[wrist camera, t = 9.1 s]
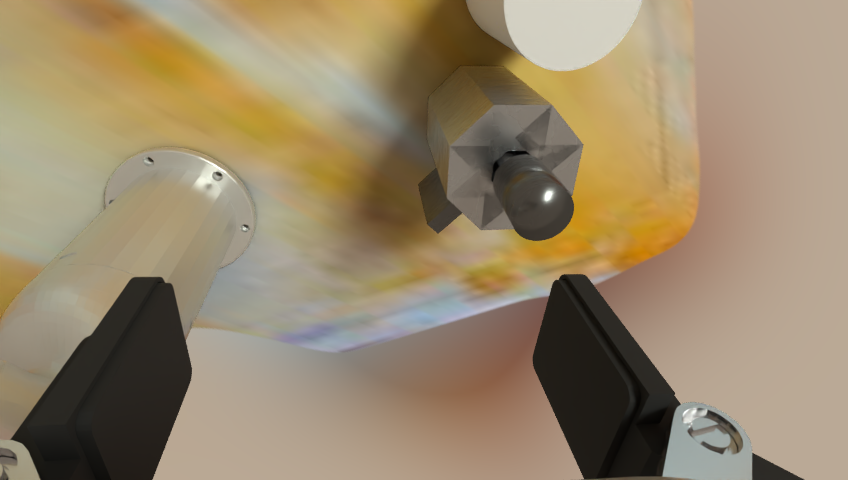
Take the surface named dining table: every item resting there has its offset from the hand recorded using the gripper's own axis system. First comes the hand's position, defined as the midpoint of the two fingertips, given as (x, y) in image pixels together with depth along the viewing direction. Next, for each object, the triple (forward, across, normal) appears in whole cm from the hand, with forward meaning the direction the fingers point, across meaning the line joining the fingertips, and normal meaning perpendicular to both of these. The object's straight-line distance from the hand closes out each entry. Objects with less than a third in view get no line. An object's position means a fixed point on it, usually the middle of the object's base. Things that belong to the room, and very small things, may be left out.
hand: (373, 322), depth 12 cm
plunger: (+30, -11, +3) cm, 32 cm away
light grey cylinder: (+31, -12, -8) cm, 34 cm away
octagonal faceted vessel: (+31, -10, +4) cm, 33 cm away
